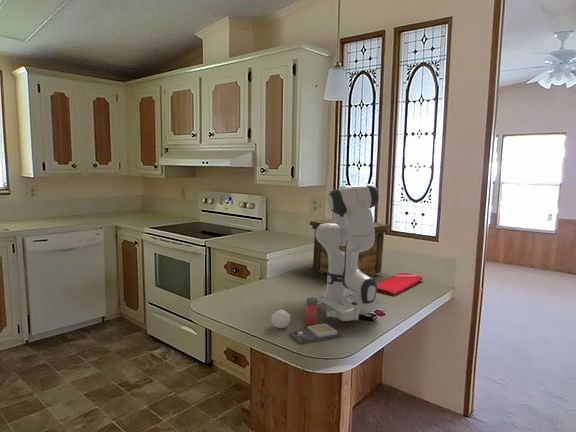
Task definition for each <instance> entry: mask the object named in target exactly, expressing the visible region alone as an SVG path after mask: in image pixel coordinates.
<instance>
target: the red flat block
mask: <svg viewBox="0 0 576 432" xmlns="http://www.w3.org/2000/svg"><path fill="white" fill-rule="evenodd" d="M422 280H423V277H422V276H420V275H416V274H412V273H408V272H407V273H405V272H404V273H403V272H400V273H397V274H394V275H393V276H391V277H388V278H386V279H384V280H382V281H379V282H376V283H377V294H378V293H379V294H381V295H382V294H383V295H387V296H390V297H395V296H397V295H399V294H401V293H402V292H404V291H406V290H408V289H409V288H412V287H413V286H415V285H417V284H418V283H419V282H421V281H422Z"/></svg>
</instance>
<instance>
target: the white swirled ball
mask: <svg viewBox="0 0 576 432" xmlns="http://www.w3.org/2000/svg"><path fill="white" fill-rule="evenodd" d="M270 319H271V320H270V321H271V323H272V325H273V326H274V327H275V328H277V329H285V328H286V327H288V325H289V324H290V321H291V315H290V313H288V311H286V310H283V309H279V310H276V311H274V313H272V314H271V317H270Z"/></svg>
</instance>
